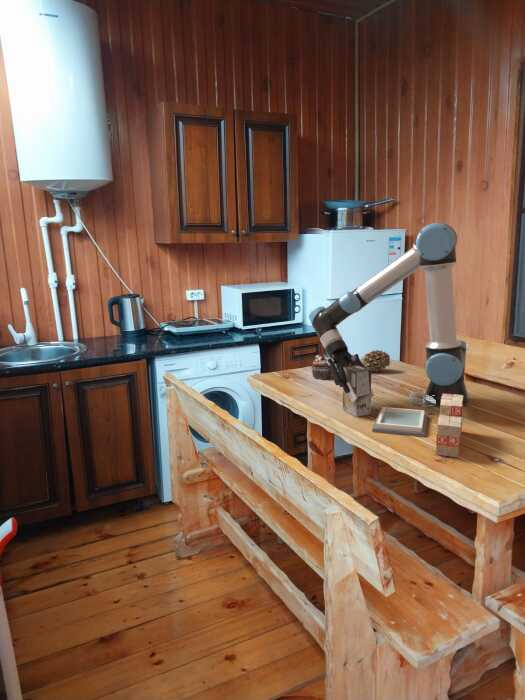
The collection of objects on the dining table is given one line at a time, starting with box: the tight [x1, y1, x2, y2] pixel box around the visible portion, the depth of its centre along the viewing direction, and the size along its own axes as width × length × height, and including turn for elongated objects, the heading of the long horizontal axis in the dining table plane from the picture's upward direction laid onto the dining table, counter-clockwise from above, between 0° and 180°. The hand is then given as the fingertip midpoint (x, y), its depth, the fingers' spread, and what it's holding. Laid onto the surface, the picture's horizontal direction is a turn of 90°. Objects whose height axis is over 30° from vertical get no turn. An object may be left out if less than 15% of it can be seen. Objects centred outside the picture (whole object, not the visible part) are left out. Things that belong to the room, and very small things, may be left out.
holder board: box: [372, 406, 428, 438], centre depth 173 cm, size 16×19×2 cm
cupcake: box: [310, 353, 332, 381], centre depth 231 cm, size 10×10×10 cm
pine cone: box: [350, 349, 391, 373], centre depth 238 cm, size 22×10×10 cm, turn 94°
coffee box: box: [342, 365, 372, 418], centre depth 184 cm, size 9×6×16 cm
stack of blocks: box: [435, 394, 464, 458], centre depth 156 cm, size 21×6×12 cm, turn 158°
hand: (363, 398), depth 182 cm, fingers closed on coffee box, 7 cm apart
